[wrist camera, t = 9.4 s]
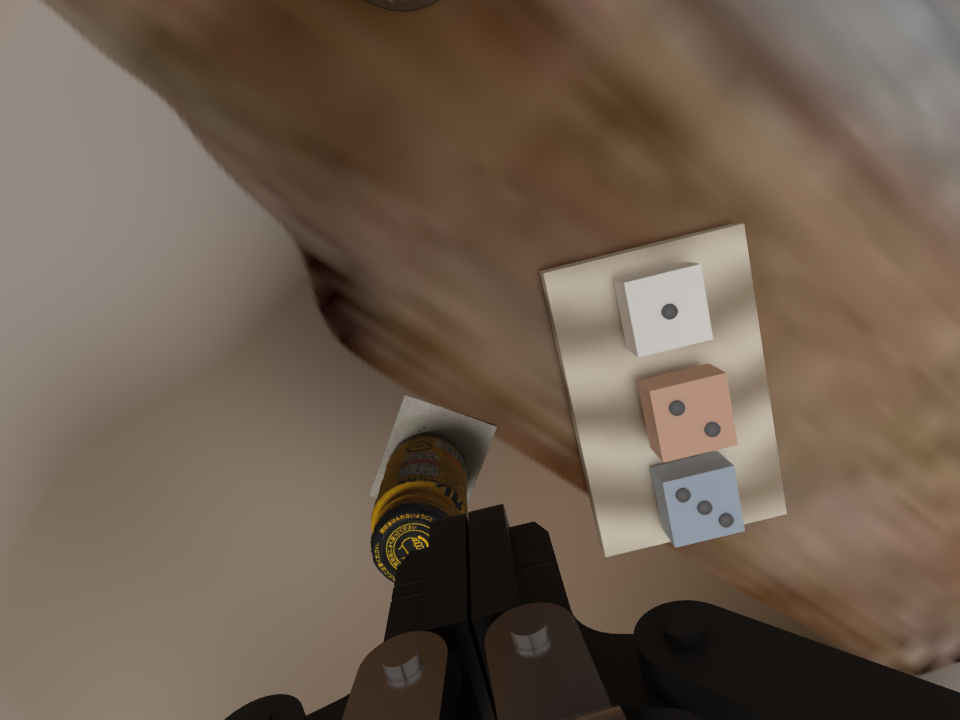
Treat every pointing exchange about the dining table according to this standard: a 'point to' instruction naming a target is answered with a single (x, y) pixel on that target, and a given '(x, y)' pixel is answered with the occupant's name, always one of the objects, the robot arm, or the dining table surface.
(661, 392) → the tile
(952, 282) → the dining table surface
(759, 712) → the robot arm
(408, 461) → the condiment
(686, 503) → the grey block
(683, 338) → the light grey square block
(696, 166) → the dining table surface
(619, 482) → the board
